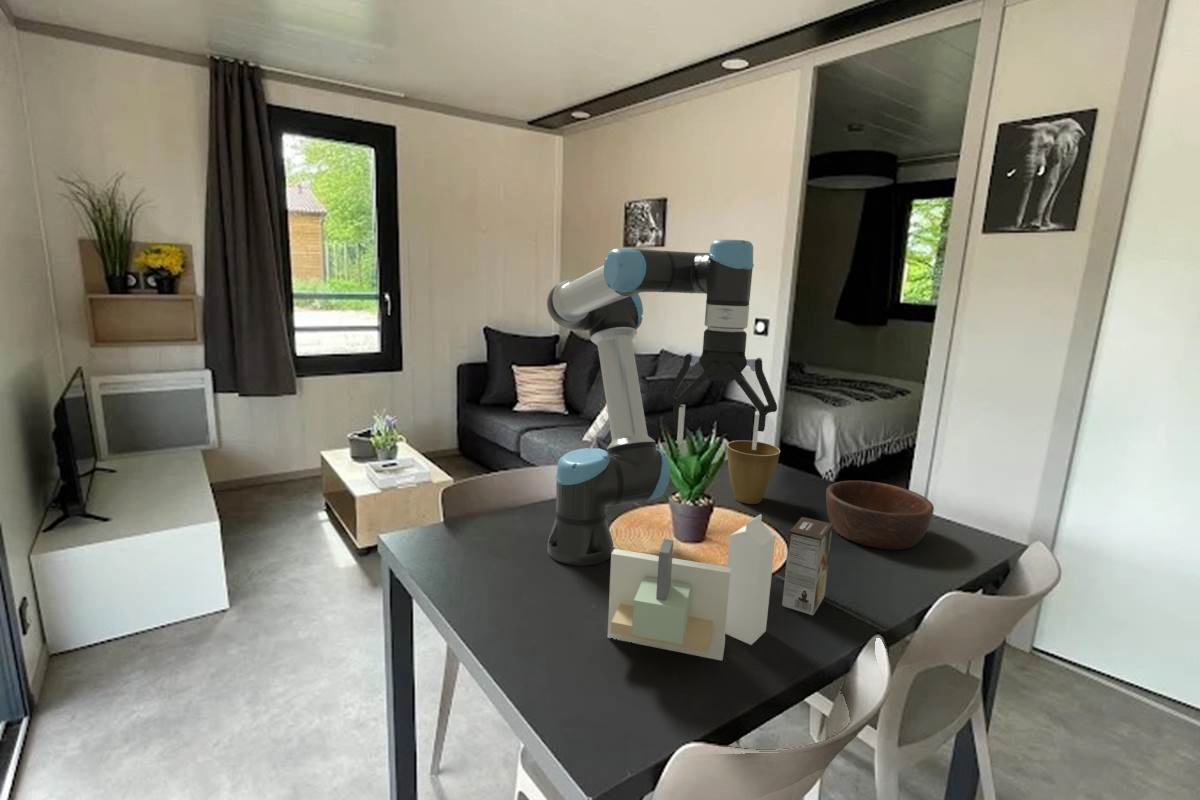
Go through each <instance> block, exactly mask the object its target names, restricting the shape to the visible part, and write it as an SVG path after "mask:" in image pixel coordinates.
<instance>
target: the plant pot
mask: <svg viewBox="0 0 1200 800" xmlns="http://www.w3.org/2000/svg"><path fill="white" fill-rule="evenodd" d="M752 442H753V440H732V441H729V442H727V444H726V450H727V451H726V452H727V454H726V455H727V456H726V457H727V465H728V474H729V478H730V479H729V480H730V484H731V488H732V492H733V495H734V498H735V500H736V501H738V502H739V503H743V504H747V505H755V504H759V503H761V502H762V499H763V498H764V496H765V495H766V492H767V490H768V488H769V486H770V484H771V481H772V479H773V476H774V473H775V471H776V469H777V464H778V461H779V458H780V454H781V450H780V448H779V447H778V446H776V445H773V444H770V443H766V442H761V441H757V446H756V450H752Z"/></svg>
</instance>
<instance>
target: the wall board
mask: <svg viewBox="0 0 1200 800" xmlns="http://www.w3.org/2000/svg"><path fill="white" fill-rule="evenodd" d="M658 561H659V555H656V554H650V553H642V552H635V551H630V550H624V549H618V548H613V552H612V553H611V557H610V570H609V571H610V574H609V597H608V598H609V599H608V620H607V621H608V622H607V639H611V638H613V639H612V640H616V639H617V641H622V642H626V643H627V642H628V643H631V642H632V643H633V644H636V645H643V646H646V647H653V648H657V649H660V650H661V649H662V650H667V651H671V652H672V651H673V652H677V653H683V654H687V655H691V656H695V657H696V656H698V657H701V658H707V659H711V660H716V661H723V659H724V653H725V652H724V651H725V645H726V634H725V630H726V618H727V607H728V596H729V584H730V573H731V567H727V566H723V565H717V564H712V563H705V562H699V561H693V560H686V559H680V558H675V557H672V570H671V581H674V582H680V583H686V584H691V596H690V609H689V619H688V623H687V627H686V632H685V636H684V640H683V644H678V643H673V642H668V641H662V640H657V639H652V638H647V637H641V636H636V635H632V627H633V609H634V599H635V597H636V594H637V592H638V589H639V587H640V585H641V582H642V580H643V578H644V577H649V578H655V579H657V577H658Z"/></svg>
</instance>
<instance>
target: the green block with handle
mask: <svg viewBox="0 0 1200 800" xmlns="http://www.w3.org/2000/svg"><path fill="white" fill-rule="evenodd" d="M660 546H661V547H660V548H659V551H658V556H659V561H658V577H657V579H655V578H649V577H644V578H643V580H642V582H641V585H640V587H639V589H638V592H637V594H636V597H635V599H634V609H633V627H632V635H636V636H641V637H647V638H652V639H657V640H662V641H668V642H673V643H678V644H683V640H684V636H685V632H686V627H687V623H688V619H689V609H690V596H691V584H686V583H680V582H674V581H671V570H672V558H673V555H674V554H673V553H674V539H668V538H664V539H663V541H662V543H661V545H660Z"/></svg>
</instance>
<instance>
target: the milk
mask: <svg viewBox="0 0 1200 800" xmlns="http://www.w3.org/2000/svg"><path fill="white" fill-rule="evenodd" d="M762 516H763V515H762V514H758V515H757V516H755V517H754V518H752V519H751V520H748V522H746V524H745V525H743V526H742V527H741V528H739V529H738V530H736V531H734V532H733V533H732V534H730V535H729V540H728V541H729V543H728V550H727V551H728V553H727V565H726V567H731V573H730V584H729V596H728V607H727V618H726V630H725V635H727V636H730V637H732V638H734V639H736V640H739V641H741V642H743V643H745V644H748V645H750V646H752V645H753V644H754V643H756V642H757V640H759V638H760V637H761V636H762V635H764V634H765V633H766V631H767V622H768V613H769V606H770V604H769V603H770V594H771V584H772V575H773V564H774V555H775V547H776V545H775V544H776V538H777V537H776V534H775V533H774V532H773V531H772V530H771V529H770V528H769V527H768V526H766V525H765V523H763V522H762V519H763V518H762Z"/></svg>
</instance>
